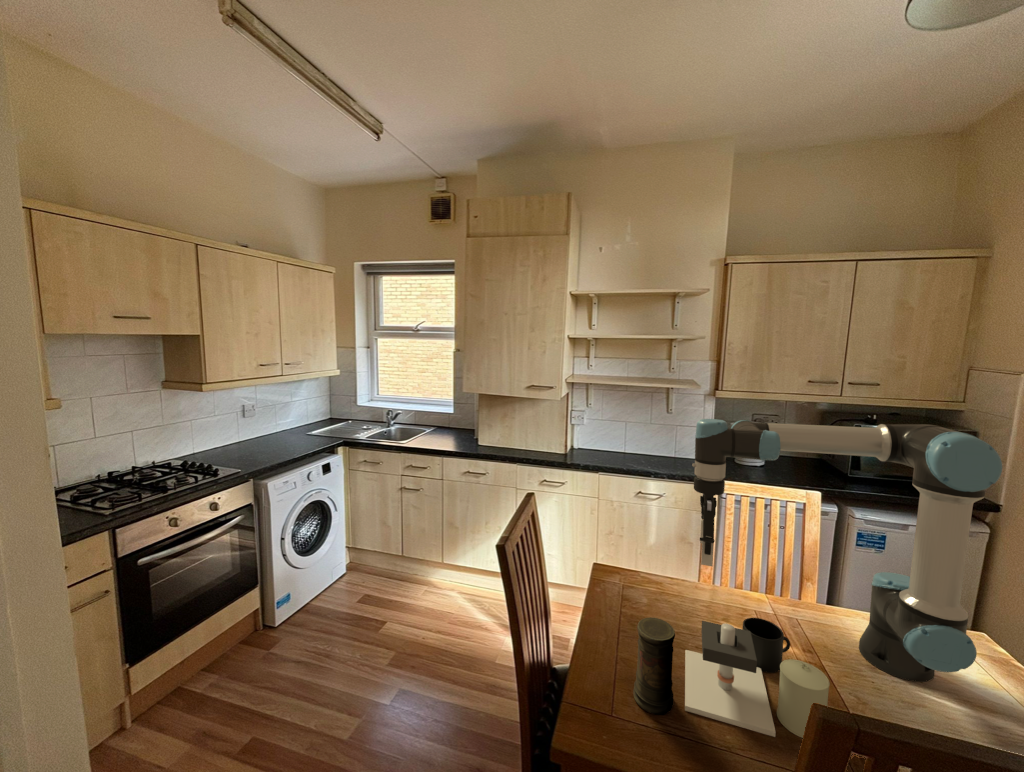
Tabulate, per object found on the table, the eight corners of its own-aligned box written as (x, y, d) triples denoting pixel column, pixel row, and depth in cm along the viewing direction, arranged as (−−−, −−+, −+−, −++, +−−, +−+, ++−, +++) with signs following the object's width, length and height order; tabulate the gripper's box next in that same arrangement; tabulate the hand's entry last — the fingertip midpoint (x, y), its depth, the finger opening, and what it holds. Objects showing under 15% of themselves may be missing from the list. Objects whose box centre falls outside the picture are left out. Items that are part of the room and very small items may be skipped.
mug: (799, 674, 111) (802, 641, 110) (752, 672, 111) (753, 639, 110) (778, 649, 120) (780, 618, 119) (734, 647, 120) (736, 616, 120)
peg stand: (760, 672, 111) (764, 612, 110) (775, 737, 93) (779, 666, 91) (685, 653, 118) (687, 597, 116) (684, 710, 99) (687, 644, 98)
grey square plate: (749, 642, 107) (750, 631, 107) (756, 673, 97) (756, 660, 97) (701, 631, 112) (701, 620, 111) (702, 659, 101) (703, 647, 101)
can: (824, 717, 98) (828, 667, 97) (827, 748, 90) (832, 694, 89) (777, 699, 103) (780, 651, 102) (776, 727, 95) (779, 676, 94)
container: (629, 684, 107) (631, 615, 106) (666, 685, 107) (668, 616, 105) (639, 715, 98) (641, 640, 97) (679, 716, 98) (682, 641, 96)
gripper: (694, 464, 129) (691, 533, 131) (694, 489, 106) (690, 572, 108) (721, 466, 126) (718, 537, 128) (728, 493, 103) (724, 578, 105)
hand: (706, 553), depth 118 cm, fingers open, 13 cm apart
